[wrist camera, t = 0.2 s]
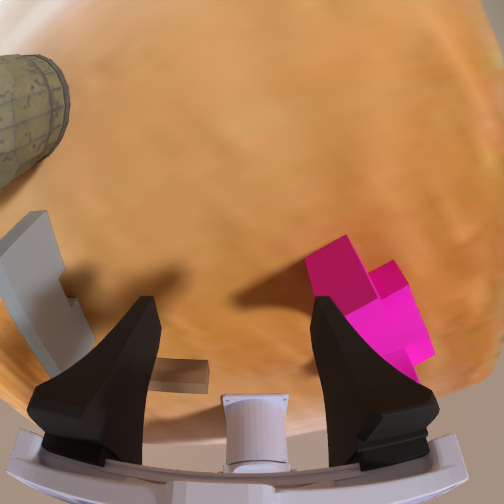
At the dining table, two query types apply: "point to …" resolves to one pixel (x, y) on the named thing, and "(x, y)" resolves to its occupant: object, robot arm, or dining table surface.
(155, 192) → the dining table surface
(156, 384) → the walnut rail
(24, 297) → the slate plate
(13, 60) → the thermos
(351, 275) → the toy block
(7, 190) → the dining table surface
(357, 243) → the dining table surface
